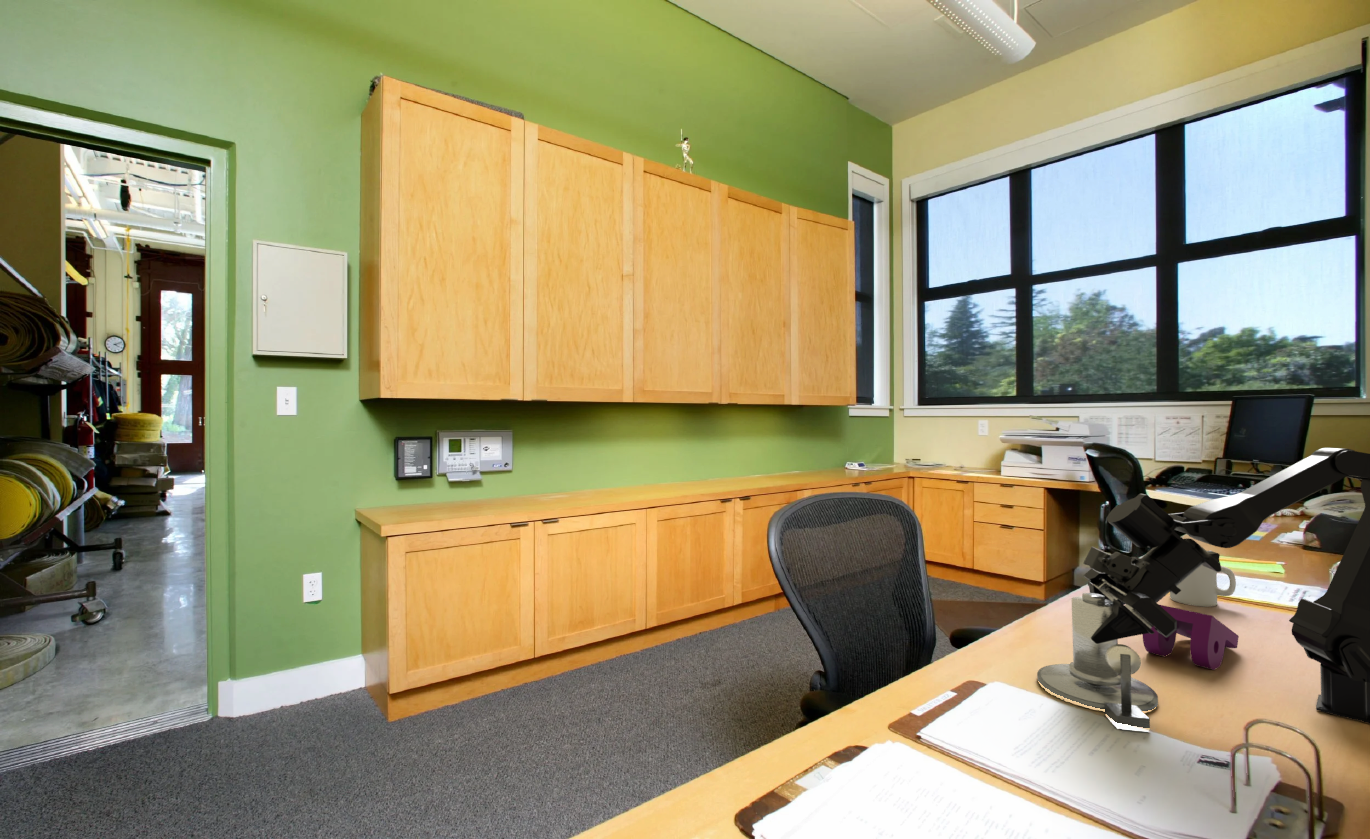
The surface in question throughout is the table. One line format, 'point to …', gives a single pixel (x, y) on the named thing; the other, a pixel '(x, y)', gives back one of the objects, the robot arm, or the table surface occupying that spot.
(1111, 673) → the silver metal cylinder
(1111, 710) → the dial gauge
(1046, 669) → the disc
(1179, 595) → the mug
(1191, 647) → the mounting bracket
